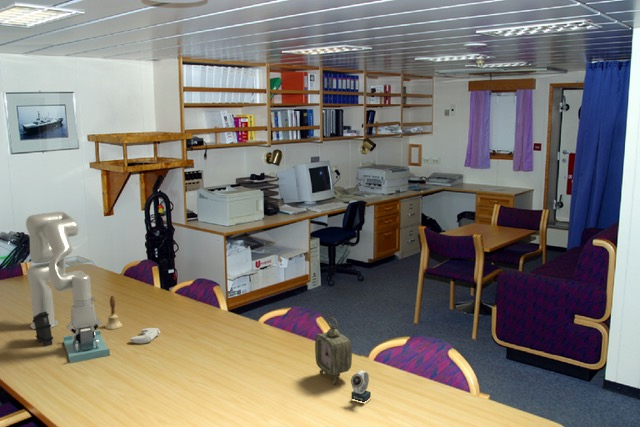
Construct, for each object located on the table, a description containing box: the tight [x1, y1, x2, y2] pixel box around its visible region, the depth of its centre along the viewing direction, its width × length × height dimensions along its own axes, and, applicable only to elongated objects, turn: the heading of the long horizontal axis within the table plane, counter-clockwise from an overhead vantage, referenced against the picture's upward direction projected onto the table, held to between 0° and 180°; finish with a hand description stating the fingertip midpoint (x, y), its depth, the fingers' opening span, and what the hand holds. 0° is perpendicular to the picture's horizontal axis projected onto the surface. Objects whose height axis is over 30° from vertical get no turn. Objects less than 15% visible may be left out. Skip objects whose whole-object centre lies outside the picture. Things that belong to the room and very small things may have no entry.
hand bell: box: [104, 295, 123, 330], centre depth 285 cm, size 8×8×16 cm
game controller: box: [130, 327, 161, 345], centre depth 270 cm, size 14×4×10 cm
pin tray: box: [62, 329, 111, 364], centre depth 259 cm, size 26×16×5 cm, turn 30°
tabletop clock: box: [314, 317, 353, 385], centre depth 227 cm, size 14×9×25 cm, turn 29°
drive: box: [79, 326, 94, 350], centre depth 258 cm, size 12×5×8 cm, turn 30°
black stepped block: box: [32, 311, 54, 347], centre depth 266 cm, size 4×13×15 cm, turn 46°
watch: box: [350, 369, 371, 402], centre depth 210 cm, size 6×8×11 cm
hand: (85, 340), depth 258 cm, fingers closed on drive, 5 cm apart
